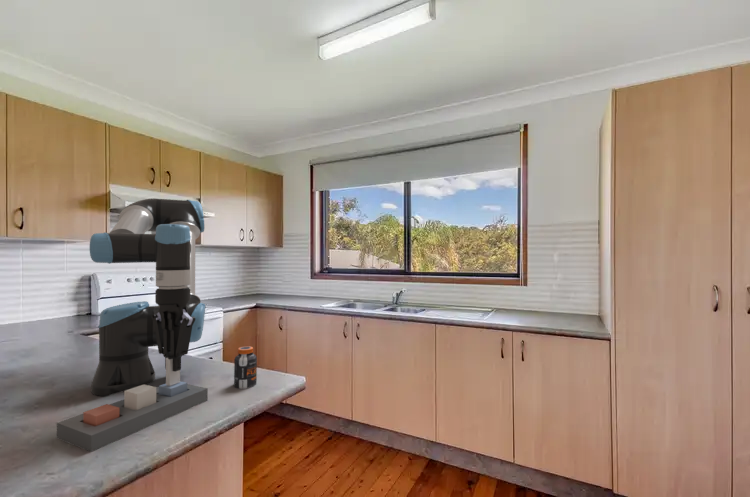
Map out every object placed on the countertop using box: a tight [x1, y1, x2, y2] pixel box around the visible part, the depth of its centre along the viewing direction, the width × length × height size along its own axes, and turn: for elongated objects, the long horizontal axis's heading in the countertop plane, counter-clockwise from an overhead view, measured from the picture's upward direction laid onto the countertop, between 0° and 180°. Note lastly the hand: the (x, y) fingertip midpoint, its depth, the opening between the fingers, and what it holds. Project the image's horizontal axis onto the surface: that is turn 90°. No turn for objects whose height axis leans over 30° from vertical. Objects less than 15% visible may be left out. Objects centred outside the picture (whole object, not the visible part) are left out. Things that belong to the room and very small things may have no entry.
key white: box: [123, 384, 157, 411], centre depth 83 cm, size 4×4×4 cm
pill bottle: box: [233, 345, 258, 390], centre depth 104 cm, size 6×6×11 cm
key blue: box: [158, 380, 188, 397], centre depth 91 cm, size 4×4×4 cm
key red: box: [82, 403, 119, 427], centre depth 76 cm, size 4×4×4 cm
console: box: [56, 383, 209, 453], centre depth 83 cm, size 12×26×4 cm, turn 155°
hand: (173, 383), depth 91 cm, fingers closed
